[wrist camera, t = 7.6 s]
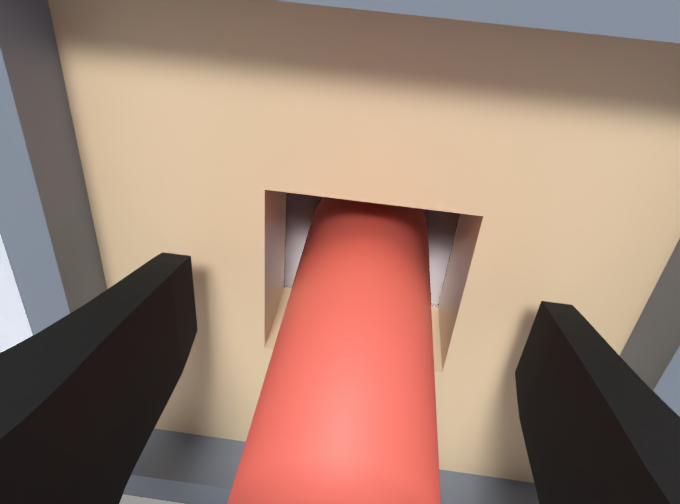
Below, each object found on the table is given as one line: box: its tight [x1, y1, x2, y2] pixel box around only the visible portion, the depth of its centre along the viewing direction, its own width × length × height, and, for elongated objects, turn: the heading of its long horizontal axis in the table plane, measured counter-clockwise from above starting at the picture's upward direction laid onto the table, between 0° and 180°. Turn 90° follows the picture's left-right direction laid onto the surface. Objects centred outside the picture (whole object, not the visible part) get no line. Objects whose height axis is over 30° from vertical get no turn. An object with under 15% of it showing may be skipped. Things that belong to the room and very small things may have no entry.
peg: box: [227, 197, 441, 504], centre depth 11 cm, size 3×3×8 cm
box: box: [0, 0, 680, 504], centre depth 12 cm, size 14×14×4 cm
